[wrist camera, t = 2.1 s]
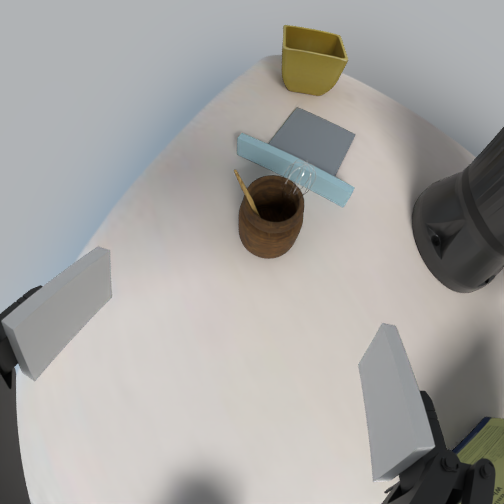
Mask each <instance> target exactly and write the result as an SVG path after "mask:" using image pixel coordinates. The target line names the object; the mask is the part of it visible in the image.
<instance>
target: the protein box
mask: <svg viewBox="0 0 504 504" xmlns="http://www.w3.org/2000/svg"><path fill="white" fill-rule="evenodd" d="M453 452H454V453H455V454H456V455H457V456H458V458H459V460H460V462H462V463H467V464H471V465H473V464H474V463H475V462H477V461H478V460H479V459H482V458H486V459H488V460H490V461H491V462H492V463H493V465H494V467H495V472H496V476H495V487H494V496H493V503H492V504H504V419H501V418H492V417H484V419H483V420H482V421H481V422H480V423H479V424H478V425H477V426H476V427H475V429H474V430H473V431H472V432H471V433H470V434H469V435H468V436H467V437H466V438H465V439H464V440H463V441H462V442H461V443H460V444H459V445H458V446H457V447H456V448H455V449H454V450H453ZM459 504H461V503H459Z"/></svg>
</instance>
